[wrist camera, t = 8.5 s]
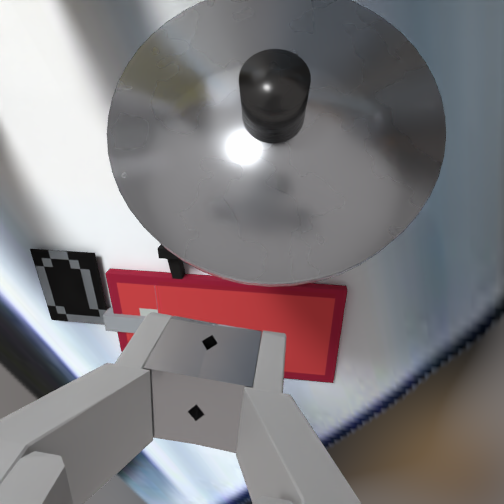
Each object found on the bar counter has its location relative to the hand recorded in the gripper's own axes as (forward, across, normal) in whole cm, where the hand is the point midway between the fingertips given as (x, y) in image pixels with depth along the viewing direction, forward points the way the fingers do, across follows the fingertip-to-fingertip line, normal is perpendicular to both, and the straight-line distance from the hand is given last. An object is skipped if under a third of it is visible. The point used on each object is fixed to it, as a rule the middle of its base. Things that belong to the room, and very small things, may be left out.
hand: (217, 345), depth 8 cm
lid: (+9, 0, -3) cm, 10 cm away
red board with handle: (+23, +7, +16) cm, 29 cm away
